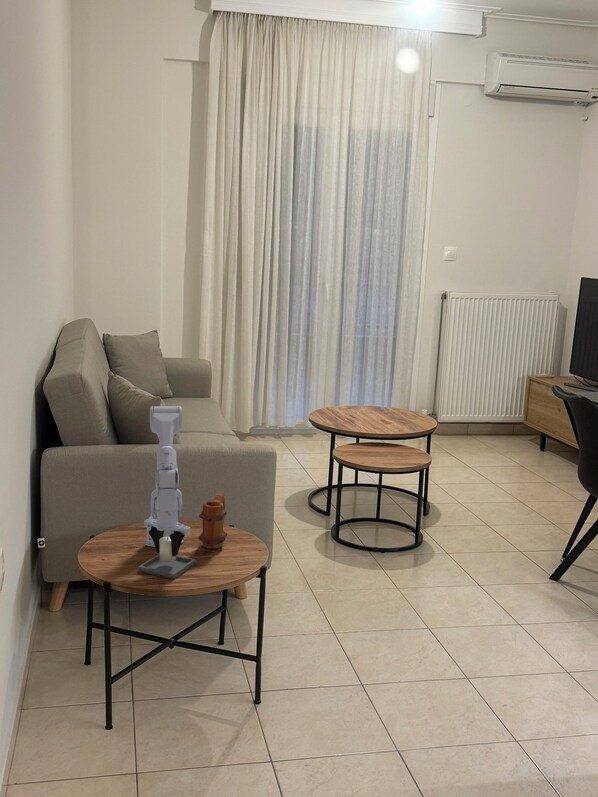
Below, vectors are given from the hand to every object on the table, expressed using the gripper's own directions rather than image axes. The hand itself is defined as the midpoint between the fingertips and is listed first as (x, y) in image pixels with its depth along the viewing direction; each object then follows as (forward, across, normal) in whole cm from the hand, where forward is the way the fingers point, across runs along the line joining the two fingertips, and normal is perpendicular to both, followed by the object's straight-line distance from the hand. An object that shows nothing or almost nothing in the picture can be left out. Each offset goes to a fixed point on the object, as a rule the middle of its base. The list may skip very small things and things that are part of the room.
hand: (167, 553), depth 235 cm
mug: (+5, +3, +23) cm, 24 cm away
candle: (+2, 0, 0) cm, 2 cm away
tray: (+4, 0, 0) cm, 4 cm away
